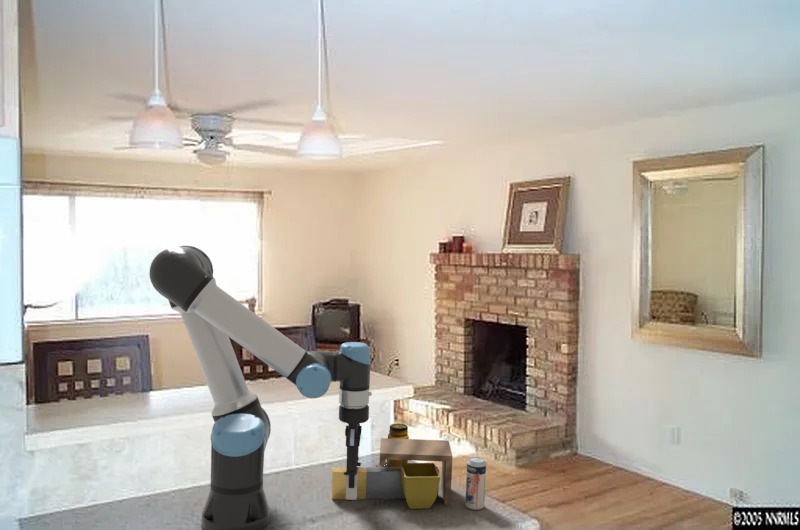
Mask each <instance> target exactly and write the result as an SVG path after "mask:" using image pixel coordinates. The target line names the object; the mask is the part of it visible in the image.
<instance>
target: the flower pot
mask: <svg viewBox="0 0 800 530" xmlns="http://www.w3.org/2000/svg"><path fill="white" fill-rule="evenodd" d="M436 467H437V466H436V464H435V463H434V462H408V463H401V482H402V488H403V492H404V495H405V498H404V499H405V500H406V504H407V506H408V508H409V509H413V510H414V509H430V508H431V507H432V506H433V505H434V503H435V501H436V499H437V498H436V496H437V493H438V494H439V489H438V487H440V486H439V485H440V480H441V475H440V471H439V472H438V470H437V468H436Z"/></svg>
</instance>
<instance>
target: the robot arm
mask: <svg viewBox="0 0 800 530" xmlns="http://www.w3.org/2000/svg"><path fill="white" fill-rule="evenodd" d="M148 274H149V279H150V283H151V284H152V287H153V288H154V290H155V291H156V292H158V293H159V294H160V295H161V296H162V297H163V298H165V299H167V300H168V303H169V305H170V308H171V310H173V311H175V312H177V313H179V314H180V315H181V318H182V320H183V321H182V322H183V324H184V326H185V328H186V332H187V334H188V337H189V340H190V341H191V345H192V347H193V350H194V353H195V355H196V358H197V361H198V364H199V366H200V368H201V371H202V372H201V373H202V374H203V376H204V379H205V382H206V384H207V388H208V390H209V393H210V395H211V398H212V401H213V403H214V407H213V409H212V410H211V416H212V419H213V422H214V423H213V425H212V429H211V434H210V444H211V447H210V452H211V453H210V488H209V492H208V496H207V498H206V500H205V501H206V502H205V504H204V506H203V510H202V513H201V528H202V529H203V530H264V529H265V528H266V527H267V526H268V525H269V524H270V523H271V510H270V506H269V503H268V500H267V496H266V493H265V489H264V463H265V461H264V460H265V459H264V458H265V451H266V447H267V444H268V441H269V439H270V435H271V421H270V417H269V415H268V413H267V412H266V410H265V409H264V408H263V407H262V405H261V403H260V400H259V396H258V395H257V394H256V393H254V392H252V391H249V388H248V386H247V383H246V379H245V377H244V375H243V372H242V369H241V366H240V364H239V362H238V359H237V355H236V352H235V350H234V347H233V345H232V342H231V340H232V341H234V342H235V343H237V344H238V345H240V346H241V347H243V349H245V350H246V351H247V352H249V353H251V354H252V355H253V356H255V357H256V358H257V359H259V360H260V361H262V362H263V363H264V364H265V365H267V366H269V367H270V368H272V369H273V370H274V371H275V372H277V373H279V375H281V376H282V377H284V378H286V380H288V381H289V382H290V383H292V384H294V386H296V388H297V390H298V391H299V393H300V394H301V395H302V396H303V397H305V398H308V399H318V398H321V397H322V396H324V395H326V393H327V392H328V390H329V388H330V386H331V383H334V382H335V383H337V382H338V383H339V387H338V388H339V389H338V390H339V391H338V395H339V396H338V403H339V407H338V420H339V421H340V422H342V423H344V424H348V425H345V430H344V436H345V447H346V467H347V469H346V472H344V475H346V499H345V500H352V501H353V500H354V501H355V500H358V499H357V467H361V466H362V465H361V464H362V462H359V460H360V458H359V452H360V451H359V449H360V448H359V447H360V445H361V436H362V429H363V428H362V425H361V424H364V423H366V422H368V420H369V419H370V418H369V417H370V406H369V403H370V397H371V396H372V394H373V393H372V391H370V381H371V380H370V379H371V348H370V346H369V345H368V344H367V343H364V342H359V341H349V342H348V341H347V342H344V343H342V344H341V345H340V348H339V350H337V351H332V350H331V351H330V350H329V351H327V350H326V351H325V350H324V351H320V350H308V349H307V350H306V349H303V347H301V346H300V345H298V344H297V343H296V342H294V341H293V340H291V338H289V337H287V336H286V335H284V334H283V333H282V332H280V331H279V330H278V329H276V328H275V327H274V326H272V325H271V324H270V323H269V322H267V321H266V320H264V319H263V318H262V317H260V316H259V315H257V314H256V313H255V312H253V311H252V310H250V309H249V308H248V307H247V306H245V305H244V304H242V303H241V302H240V301H238V300H237V299H235V298H234V297H232V296H231V295H230V294H229V293H227V291H224V290H223V289H222V288H221V287H219V286H217V282H216V278H215V277H214V268H213V262H212V261H211V259H210V256H208V255H207V253H205V252H204V251H203V250H202V249H200V248H199V247H195V246H192V245H179V246H175V247H169V248H166V249H164V250H162V251H160V252H159V253H158V254H157V255H155V257H154V258H153V260H152V261H151V263H150V267H149V273H148Z"/></svg>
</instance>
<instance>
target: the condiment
mask: <svg viewBox="0 0 800 530" xmlns="http://www.w3.org/2000/svg"><path fill="white" fill-rule="evenodd" d="M388 429H389V431H388V434H387V438H391V439H410V437H409V434H408V433H409V432H408V430H409V426H408V425H407V424H405V423H399V422H398V423H397V422H395V423H392V424H390V425H389V428H388ZM408 461H409V460H386V464H387V465H385V466H384V465H379V463H375V464H374V465H376V467H401V463H409V462H408Z"/></svg>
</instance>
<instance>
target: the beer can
mask: <svg viewBox="0 0 800 530" xmlns="http://www.w3.org/2000/svg"><path fill="white" fill-rule="evenodd" d="M486 472H487V462H486V460H485V459H484V457H480V456H471V457H469V459H468V460H467V462H466V479H465V480H466V481H465V482H466V484H465V503H464V505H465V507H466V508H468V509H469V510H472V511H473V510H474V511H480V510H482V509H484V507H485V498H486V495H485V494H486V477H487V476H486V475H487V473H486Z"/></svg>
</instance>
